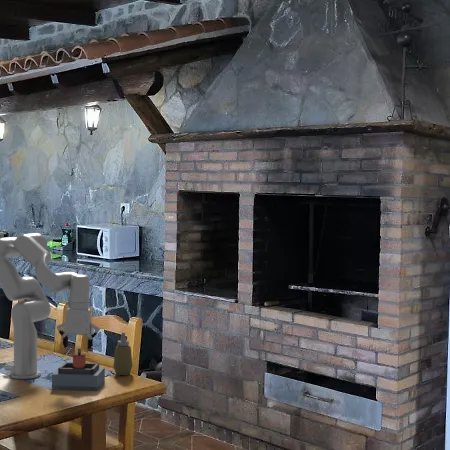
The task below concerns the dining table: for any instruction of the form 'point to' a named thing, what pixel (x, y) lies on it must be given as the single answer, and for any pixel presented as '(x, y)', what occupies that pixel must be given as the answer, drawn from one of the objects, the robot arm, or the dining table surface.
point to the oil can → (79, 360)
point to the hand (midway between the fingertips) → (77, 347)
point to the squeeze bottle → (123, 357)
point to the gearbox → (78, 377)
